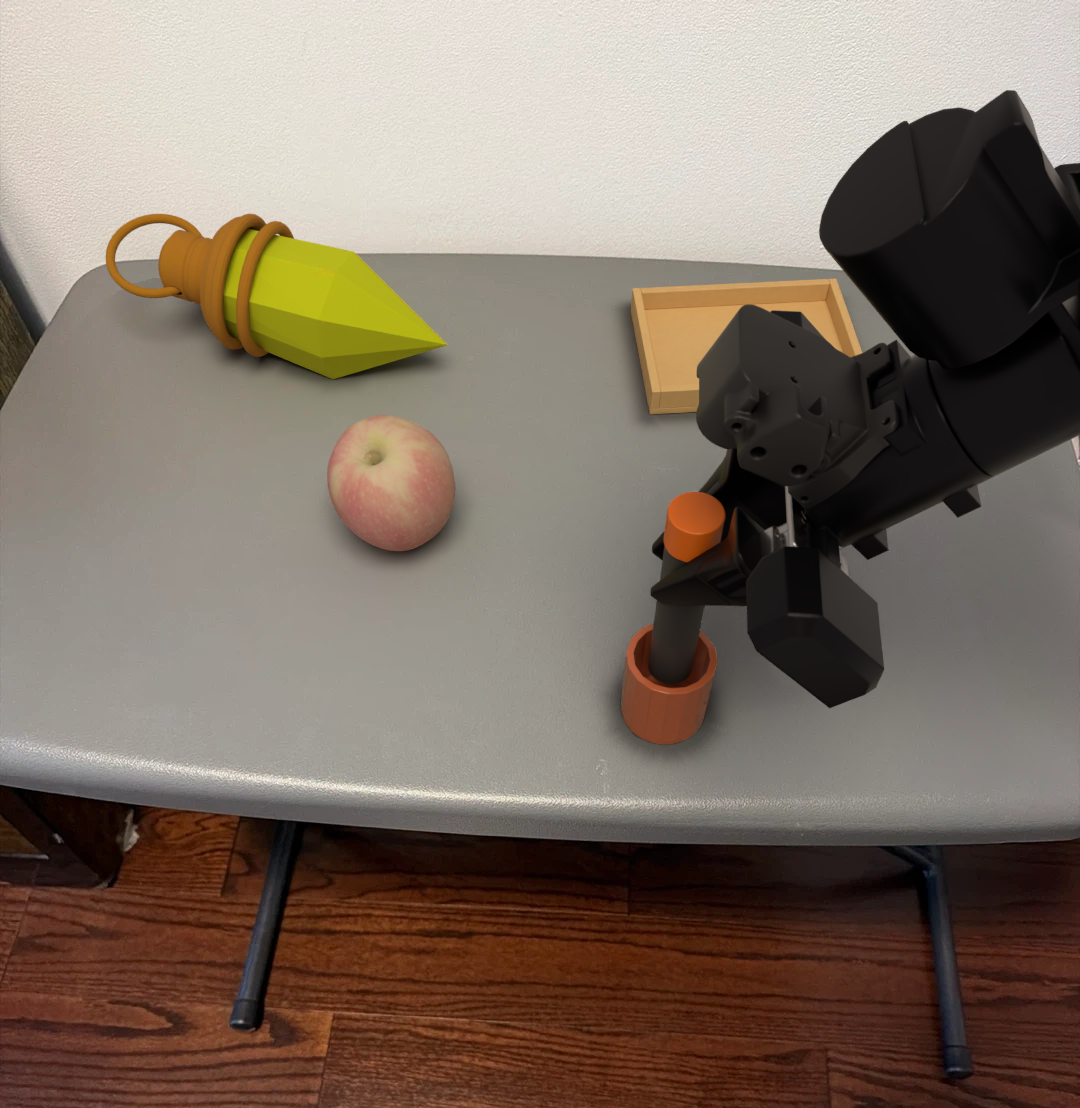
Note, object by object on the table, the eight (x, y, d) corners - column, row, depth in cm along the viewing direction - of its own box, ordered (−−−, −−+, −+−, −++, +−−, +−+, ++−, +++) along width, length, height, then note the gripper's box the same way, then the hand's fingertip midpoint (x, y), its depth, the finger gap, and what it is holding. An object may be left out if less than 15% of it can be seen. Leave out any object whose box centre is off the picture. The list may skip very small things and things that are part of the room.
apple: (329, 498, 71) (307, 403, 64) (443, 475, 72) (433, 379, 65) (352, 589, 67) (330, 498, 60) (472, 563, 68) (464, 471, 61)
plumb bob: (469, 333, 80) (154, 239, 81) (468, 246, 72) (115, 142, 73) (429, 434, 78) (104, 336, 79) (423, 356, 69) (57, 246, 70)
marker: (690, 645, 59) (720, 489, 49) (697, 684, 58) (730, 532, 48) (642, 648, 59) (663, 492, 49) (649, 687, 58) (671, 535, 48)
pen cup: (697, 672, 63) (709, 617, 59) (710, 741, 61) (723, 690, 56) (616, 677, 63) (622, 623, 59) (626, 747, 61) (632, 696, 56)
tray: (830, 301, 81) (836, 277, 80) (865, 403, 76) (872, 380, 74) (630, 311, 81) (632, 287, 79) (649, 414, 75) (652, 392, 73)
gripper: (834, 128, 43) (554, 344, 53) (873, 467, 33) (518, 655, 43) (970, 308, 49) (697, 471, 59) (1036, 638, 39) (695, 768, 49)
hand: (656, 575), depth 52 cm, fingers closed on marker, 2 cm apart
